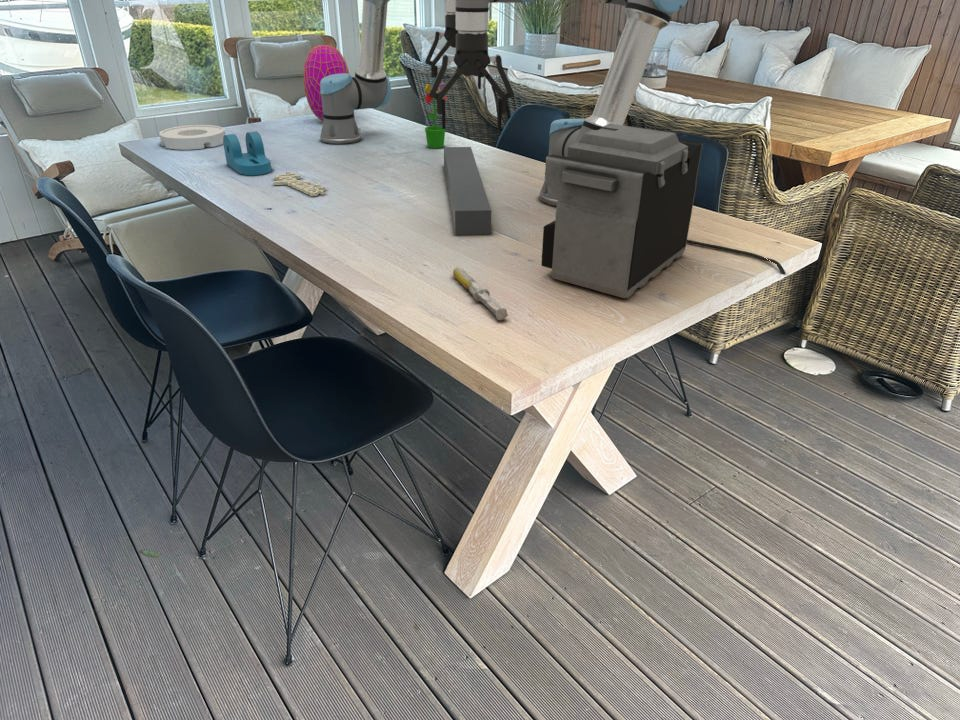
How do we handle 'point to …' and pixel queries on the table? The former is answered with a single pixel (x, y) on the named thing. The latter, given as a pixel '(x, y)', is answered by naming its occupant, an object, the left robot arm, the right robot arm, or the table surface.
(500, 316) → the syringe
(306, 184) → the decorative sign
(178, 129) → the ashtray
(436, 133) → the potted flower
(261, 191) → the table surface
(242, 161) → the camera mount
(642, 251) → the dark grey storage case
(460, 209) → the thick board
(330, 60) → the decorative egg
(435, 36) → the left robot arm
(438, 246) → the table surface
